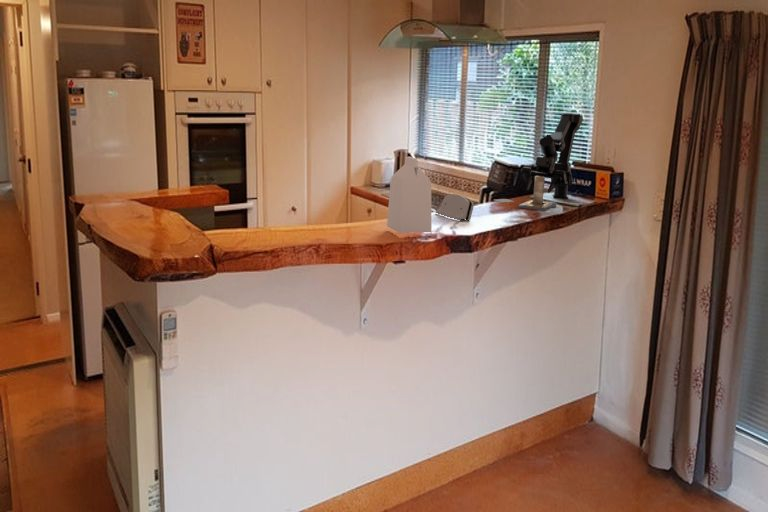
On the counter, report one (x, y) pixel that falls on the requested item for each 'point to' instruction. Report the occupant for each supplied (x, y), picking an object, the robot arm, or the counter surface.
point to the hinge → (456, 207)
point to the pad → (503, 200)
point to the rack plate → (542, 207)
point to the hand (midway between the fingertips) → (537, 191)
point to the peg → (538, 190)
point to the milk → (409, 199)
